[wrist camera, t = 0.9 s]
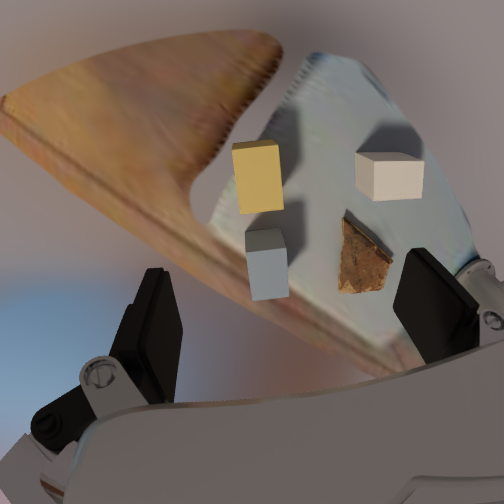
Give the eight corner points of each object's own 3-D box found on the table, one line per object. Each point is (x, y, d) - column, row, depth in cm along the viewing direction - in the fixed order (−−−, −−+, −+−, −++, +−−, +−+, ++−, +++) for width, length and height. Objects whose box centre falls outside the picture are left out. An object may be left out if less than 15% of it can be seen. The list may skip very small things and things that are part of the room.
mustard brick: (233, 143, 28) (231, 150, 24) (271, 139, 28) (278, 144, 24) (240, 198, 31) (240, 214, 26) (277, 193, 31) (283, 209, 26)
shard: (340, 212, 32) (344, 218, 31) (395, 209, 32) (402, 215, 31) (334, 288, 38) (337, 296, 36) (384, 282, 38) (389, 289, 36)
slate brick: (244, 231, 33) (245, 252, 28) (279, 227, 33) (286, 247, 28) (250, 276, 36) (252, 300, 31) (283, 272, 36) (289, 296, 31)
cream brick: (400, 152, 29) (424, 161, 24) (399, 184, 30) (421, 198, 26) (355, 152, 29) (374, 161, 24) (355, 186, 31) (373, 201, 26)
